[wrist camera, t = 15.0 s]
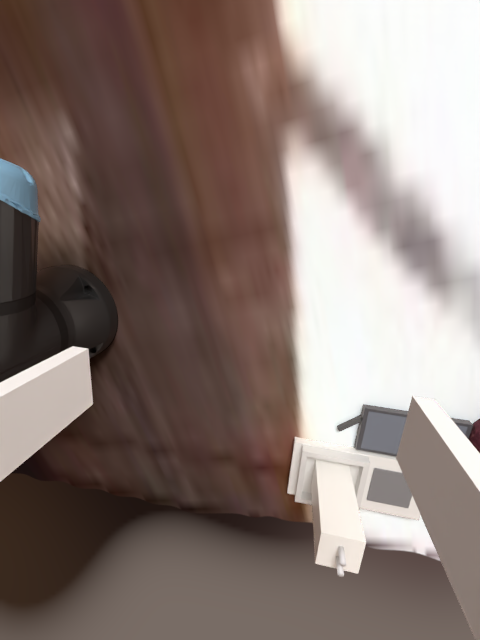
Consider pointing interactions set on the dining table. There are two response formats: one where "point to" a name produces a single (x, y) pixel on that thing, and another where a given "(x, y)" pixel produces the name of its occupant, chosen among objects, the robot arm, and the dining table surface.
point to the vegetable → (475, 435)
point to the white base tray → (354, 477)
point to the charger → (336, 518)
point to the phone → (388, 429)
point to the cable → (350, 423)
